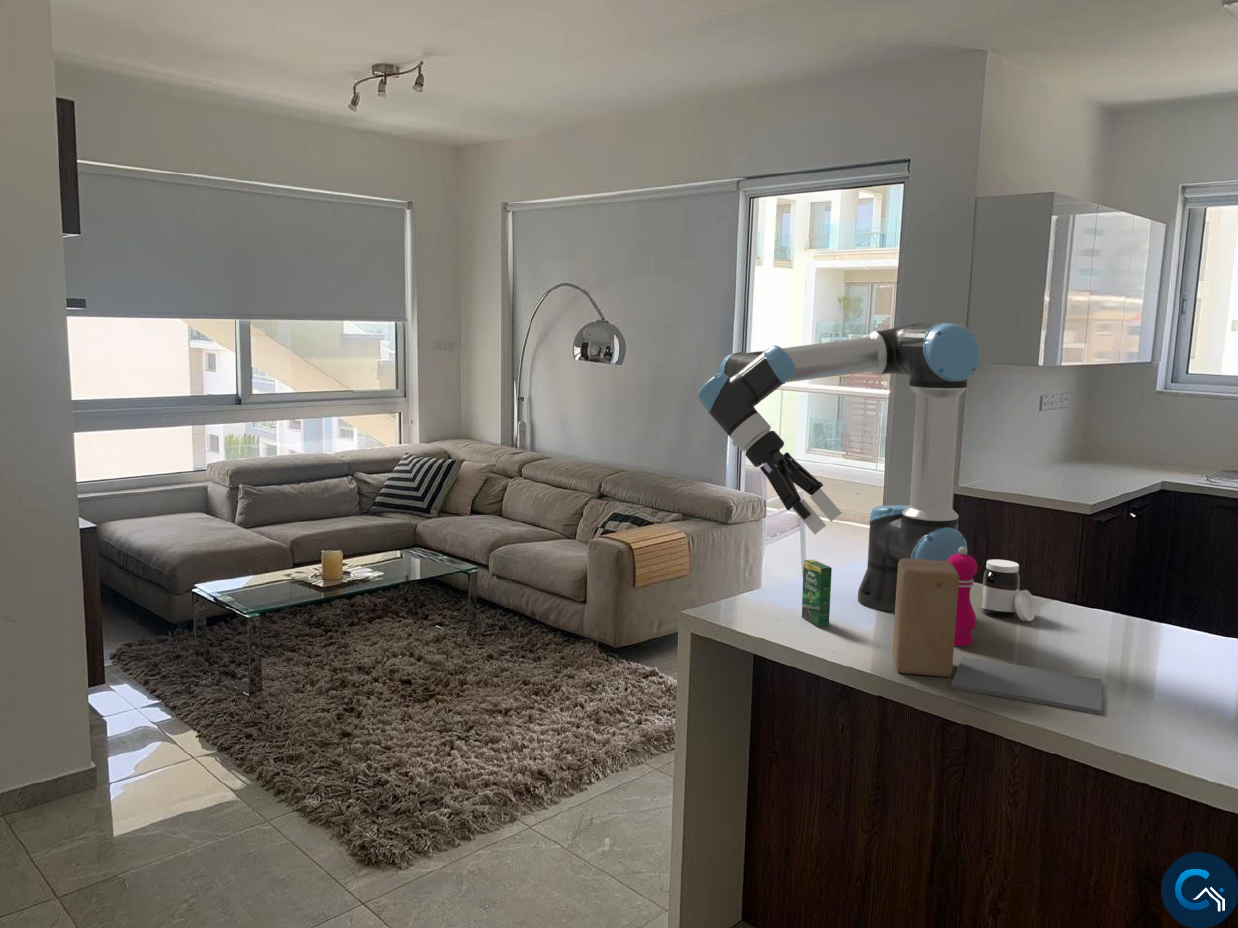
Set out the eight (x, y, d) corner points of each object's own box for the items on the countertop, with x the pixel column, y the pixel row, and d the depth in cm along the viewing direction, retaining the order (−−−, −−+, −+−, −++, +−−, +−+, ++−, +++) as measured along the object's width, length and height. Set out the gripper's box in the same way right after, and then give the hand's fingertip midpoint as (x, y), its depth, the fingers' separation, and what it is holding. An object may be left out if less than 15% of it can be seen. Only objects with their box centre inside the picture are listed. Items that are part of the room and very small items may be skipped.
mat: (962, 659, 182) (962, 655, 182) (1100, 682, 172) (1100, 678, 172) (951, 687, 168) (951, 683, 168) (1101, 714, 158) (1101, 710, 158)
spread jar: (980, 604, 219) (984, 556, 218) (1033, 610, 215) (1037, 561, 214) (980, 619, 208) (984, 568, 207) (1035, 626, 204) (1040, 574, 203)
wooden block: (952, 679, 172) (960, 573, 169) (895, 674, 174) (902, 569, 171) (944, 660, 182) (952, 560, 179) (891, 655, 184) (898, 556, 181)
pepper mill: (936, 644, 191) (943, 548, 188) (938, 633, 198) (945, 541, 195) (974, 649, 189) (981, 552, 186) (974, 638, 195) (982, 544, 192)
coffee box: (799, 616, 208) (802, 558, 206) (811, 615, 208) (814, 558, 206) (817, 628, 200) (820, 568, 198) (829, 627, 201) (833, 567, 199)
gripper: (762, 446, 199) (828, 523, 195) (724, 460, 177) (798, 548, 173) (788, 423, 196) (856, 501, 192) (752, 434, 174) (828, 523, 170)
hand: (829, 523), depth 182 cm, fingers open, 13 cm apart
